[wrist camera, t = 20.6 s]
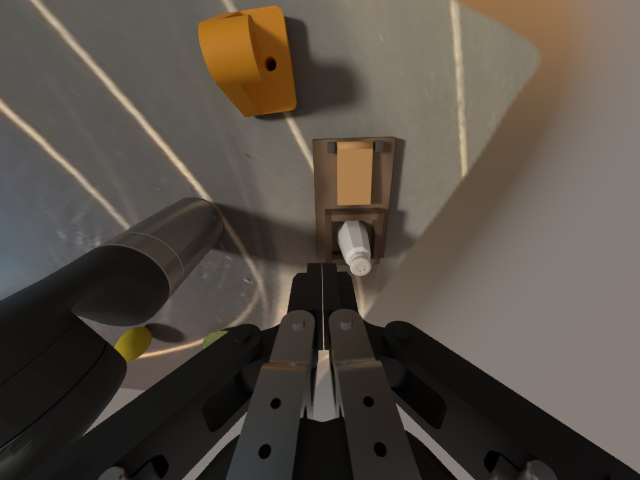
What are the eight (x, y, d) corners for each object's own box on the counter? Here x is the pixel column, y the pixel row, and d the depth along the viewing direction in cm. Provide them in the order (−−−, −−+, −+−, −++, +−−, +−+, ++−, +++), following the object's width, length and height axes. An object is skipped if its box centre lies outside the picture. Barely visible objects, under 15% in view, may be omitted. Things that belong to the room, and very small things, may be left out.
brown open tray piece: (317, 253, 46) (317, 268, 41) (312, 139, 37) (311, 141, 32) (381, 251, 45) (388, 266, 41) (392, 136, 37) (402, 138, 32)
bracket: (298, 110, 35) (289, 105, 24) (249, 116, 35) (219, 115, 25) (284, 13, 30) (265, -46, 20) (228, 22, 31) (179, -31, 20)
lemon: (155, 340, 56) (131, 372, 49) (131, 331, 54) (102, 363, 47) (162, 325, 54) (137, 356, 46) (136, 315, 52) (107, 346, 45)
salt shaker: (360, 213, 40) (373, 243, 30) (371, 240, 42) (387, 276, 32) (330, 225, 41) (333, 259, 31) (342, 251, 43) (349, 290, 33)
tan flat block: (337, 203, 38) (337, 205, 37) (336, 142, 35) (337, 141, 34) (368, 202, 38) (370, 204, 37) (371, 141, 35) (373, 140, 34)
